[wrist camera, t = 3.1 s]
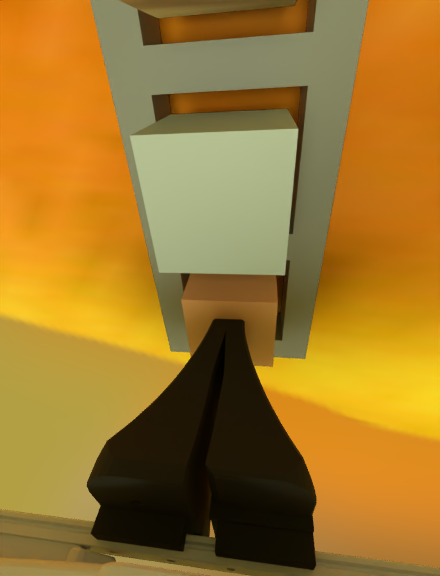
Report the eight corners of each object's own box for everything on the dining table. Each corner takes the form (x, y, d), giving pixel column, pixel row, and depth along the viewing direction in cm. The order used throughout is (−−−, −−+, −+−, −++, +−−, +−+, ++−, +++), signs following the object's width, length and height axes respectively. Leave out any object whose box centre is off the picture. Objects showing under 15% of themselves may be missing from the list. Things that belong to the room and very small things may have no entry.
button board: (409, -375, 6) (465, -546, 4) (301, 331, 19) (305, 358, 17) (61, -290, 7) (-2, -402, 6) (179, 326, 20) (170, 351, 18)
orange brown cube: (275, 252, 15) (278, 302, 12) (271, 311, 17) (272, 366, 14) (198, 252, 16) (181, 299, 12) (204, 309, 18) (191, 361, 15)
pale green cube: (287, 108, 10) (298, 128, 7) (279, 220, 12) (284, 275, 9) (171, 114, 10) (129, 135, 7) (185, 221, 13) (159, 272, 10)
